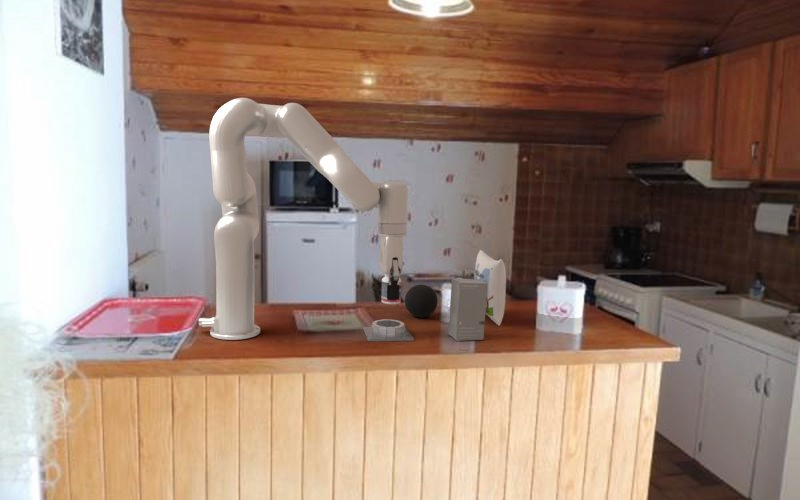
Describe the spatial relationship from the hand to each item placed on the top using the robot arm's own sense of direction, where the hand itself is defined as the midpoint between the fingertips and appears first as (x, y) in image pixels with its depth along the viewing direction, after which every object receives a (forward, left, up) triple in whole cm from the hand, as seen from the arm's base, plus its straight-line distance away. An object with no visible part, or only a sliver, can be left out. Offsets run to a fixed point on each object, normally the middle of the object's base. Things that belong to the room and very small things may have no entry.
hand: (391, 296), depth 152 cm
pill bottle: (0, 0, -2) cm, 2 cm away
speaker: (+13, +18, -11) cm, 24 cm away
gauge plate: (0, 0, -11) cm, 11 cm away
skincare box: (+21, -3, -11) cm, 23 cm away
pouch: (+33, +16, -11) cm, 39 cm away
